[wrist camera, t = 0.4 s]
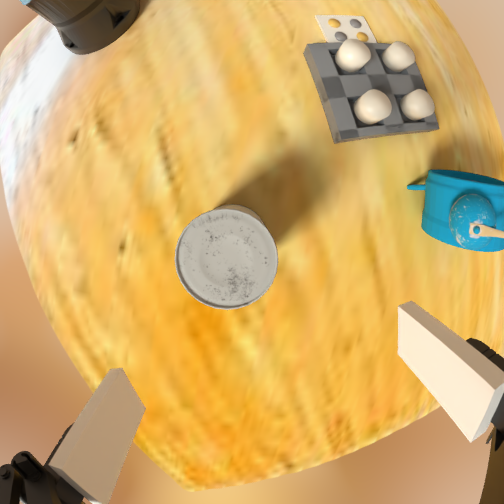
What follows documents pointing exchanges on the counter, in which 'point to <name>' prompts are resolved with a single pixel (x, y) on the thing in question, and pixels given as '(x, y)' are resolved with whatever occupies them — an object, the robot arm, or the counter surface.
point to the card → (344, 28)
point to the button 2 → (372, 107)
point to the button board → (358, 83)
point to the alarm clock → (464, 209)
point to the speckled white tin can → (226, 257)
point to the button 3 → (398, 56)
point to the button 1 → (352, 55)
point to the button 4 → (417, 105)
